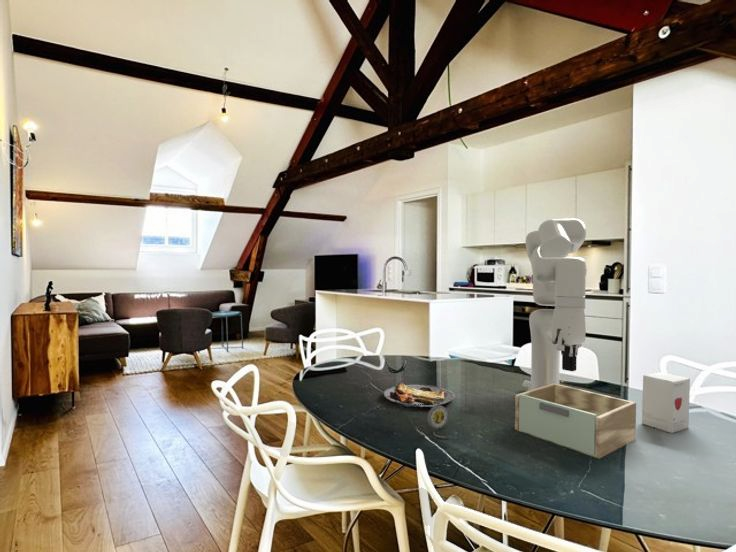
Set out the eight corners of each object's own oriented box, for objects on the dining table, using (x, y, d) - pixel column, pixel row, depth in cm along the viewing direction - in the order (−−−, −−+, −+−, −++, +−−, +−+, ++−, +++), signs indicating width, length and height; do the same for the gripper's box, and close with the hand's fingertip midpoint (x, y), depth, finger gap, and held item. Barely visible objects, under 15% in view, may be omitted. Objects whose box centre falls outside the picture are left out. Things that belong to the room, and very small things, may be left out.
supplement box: (672, 434, 130) (673, 381, 130) (640, 423, 138) (641, 374, 137) (689, 428, 134) (691, 378, 134) (658, 419, 142) (659, 371, 142)
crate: (514, 432, 131) (515, 394, 131) (553, 418, 143) (553, 383, 143) (599, 462, 112) (600, 418, 112) (635, 442, 124) (636, 402, 124)
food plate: (372, 402, 158) (372, 392, 158) (399, 386, 179) (399, 377, 179) (441, 416, 147) (441, 405, 147) (461, 397, 168) (462, 387, 167)
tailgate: (517, 430, 130) (518, 395, 129) (521, 429, 131) (521, 394, 130) (592, 456, 113) (593, 415, 112) (596, 454, 114) (596, 414, 113)
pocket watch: (451, 442, 125) (451, 405, 124) (423, 435, 129) (423, 400, 129) (462, 432, 132) (462, 398, 131) (435, 426, 136) (435, 393, 136)
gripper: (571, 300, 132) (570, 364, 132) (541, 303, 123) (541, 371, 123) (597, 302, 126) (596, 369, 126) (568, 305, 117) (567, 376, 117)
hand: (569, 370), depth 125 cm, fingers closed
